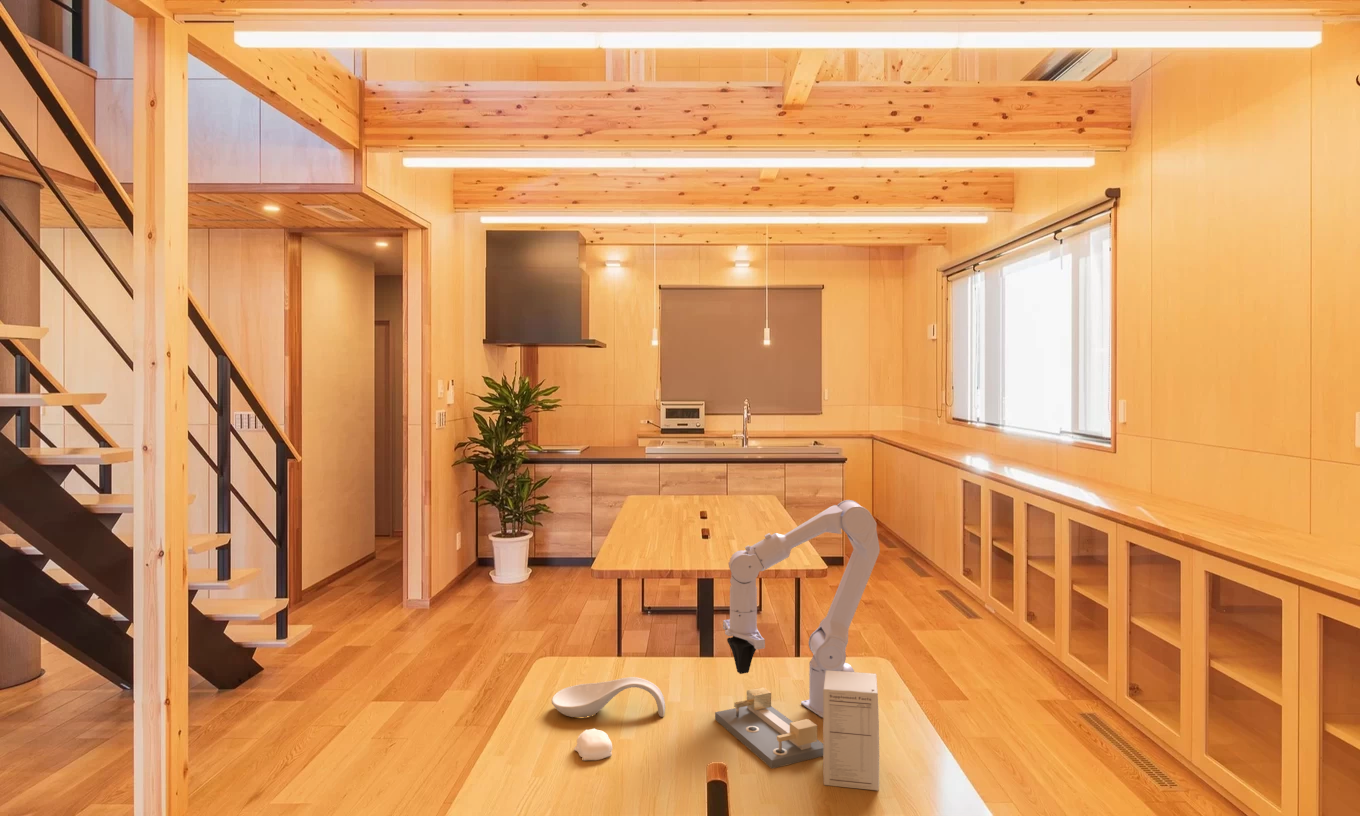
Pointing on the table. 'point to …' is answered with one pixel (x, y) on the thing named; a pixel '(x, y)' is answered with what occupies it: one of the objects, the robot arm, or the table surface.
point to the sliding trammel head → (755, 700)
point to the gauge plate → (772, 735)
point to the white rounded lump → (593, 745)
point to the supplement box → (851, 730)
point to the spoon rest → (600, 696)
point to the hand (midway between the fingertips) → (742, 672)
